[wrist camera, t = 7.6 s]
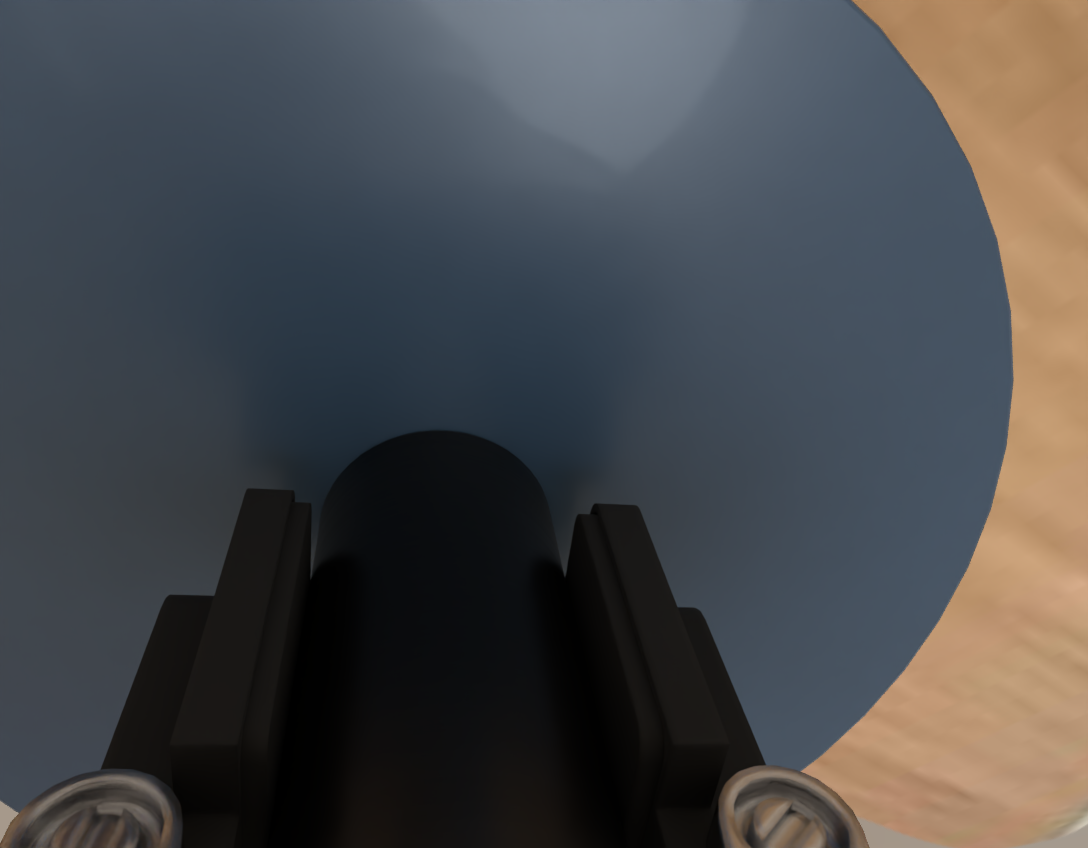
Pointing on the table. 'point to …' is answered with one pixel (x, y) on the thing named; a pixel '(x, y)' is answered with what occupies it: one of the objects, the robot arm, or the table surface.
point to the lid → (481, 372)
